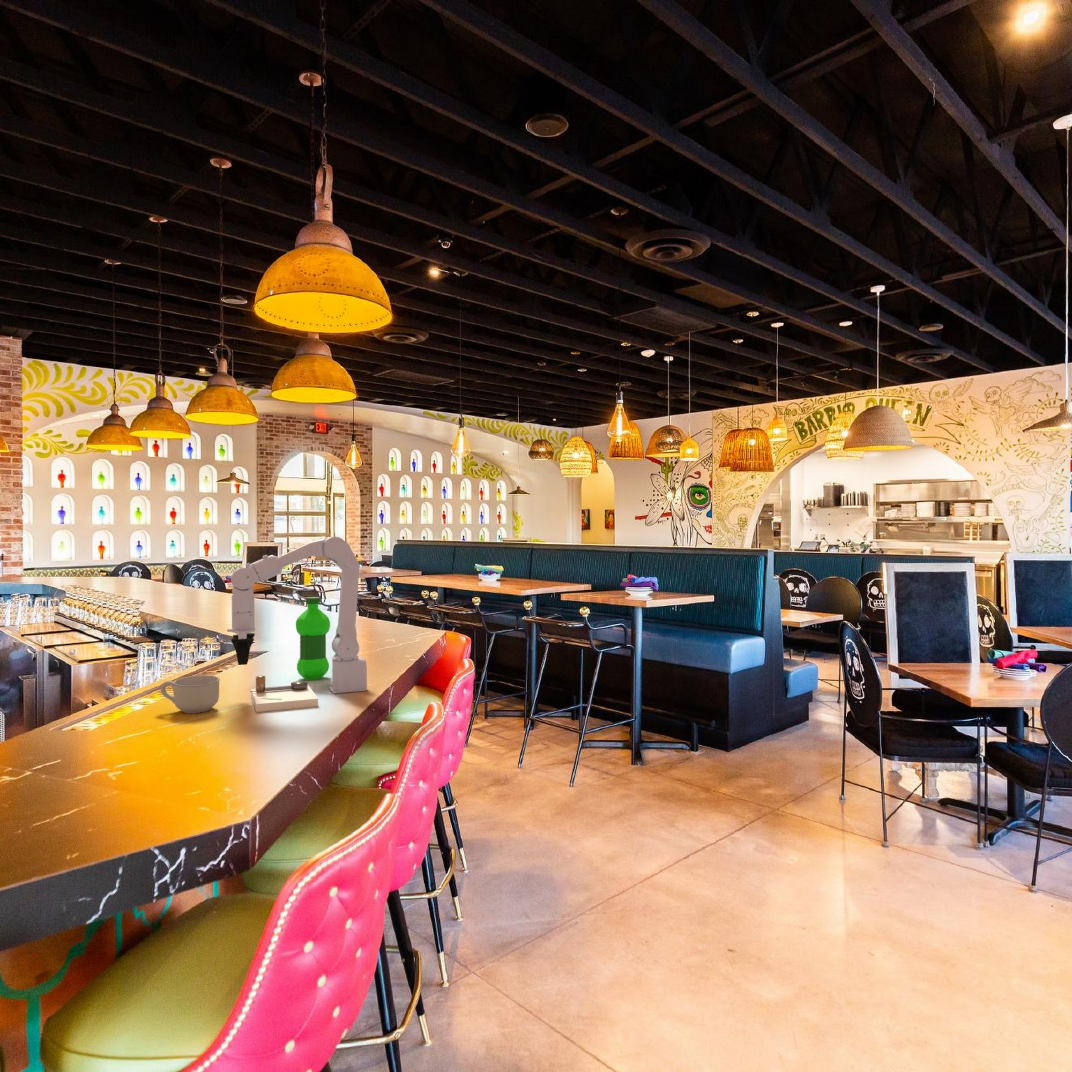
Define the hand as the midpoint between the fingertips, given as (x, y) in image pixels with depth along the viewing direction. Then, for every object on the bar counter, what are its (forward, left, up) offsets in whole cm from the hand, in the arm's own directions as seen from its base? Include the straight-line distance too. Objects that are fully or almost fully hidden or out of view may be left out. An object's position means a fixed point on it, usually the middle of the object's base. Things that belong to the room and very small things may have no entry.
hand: (243, 662), depth 198 cm
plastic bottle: (-21, -22, -10) cm, 32 cm away
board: (-10, +8, -10) cm, 16 cm away
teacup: (+13, +8, -10) cm, 18 cm away
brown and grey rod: (-9, +3, -8) cm, 12 cm away
